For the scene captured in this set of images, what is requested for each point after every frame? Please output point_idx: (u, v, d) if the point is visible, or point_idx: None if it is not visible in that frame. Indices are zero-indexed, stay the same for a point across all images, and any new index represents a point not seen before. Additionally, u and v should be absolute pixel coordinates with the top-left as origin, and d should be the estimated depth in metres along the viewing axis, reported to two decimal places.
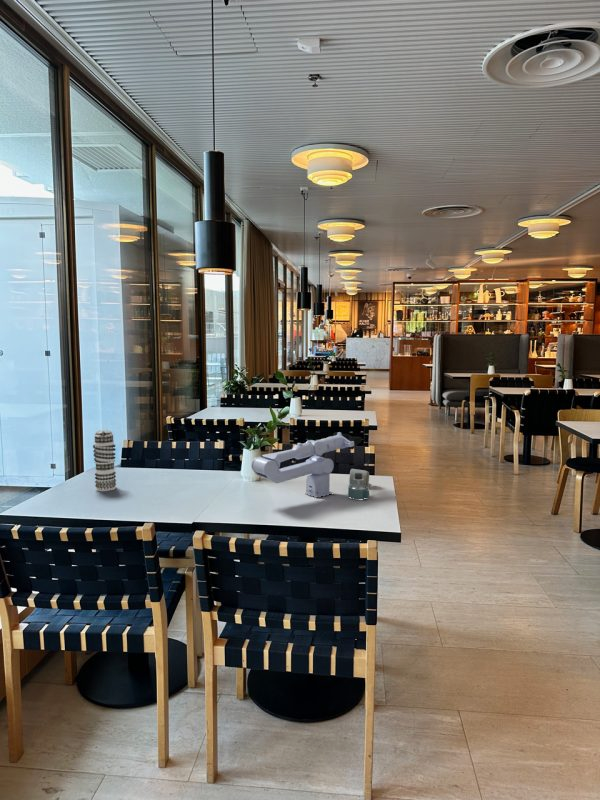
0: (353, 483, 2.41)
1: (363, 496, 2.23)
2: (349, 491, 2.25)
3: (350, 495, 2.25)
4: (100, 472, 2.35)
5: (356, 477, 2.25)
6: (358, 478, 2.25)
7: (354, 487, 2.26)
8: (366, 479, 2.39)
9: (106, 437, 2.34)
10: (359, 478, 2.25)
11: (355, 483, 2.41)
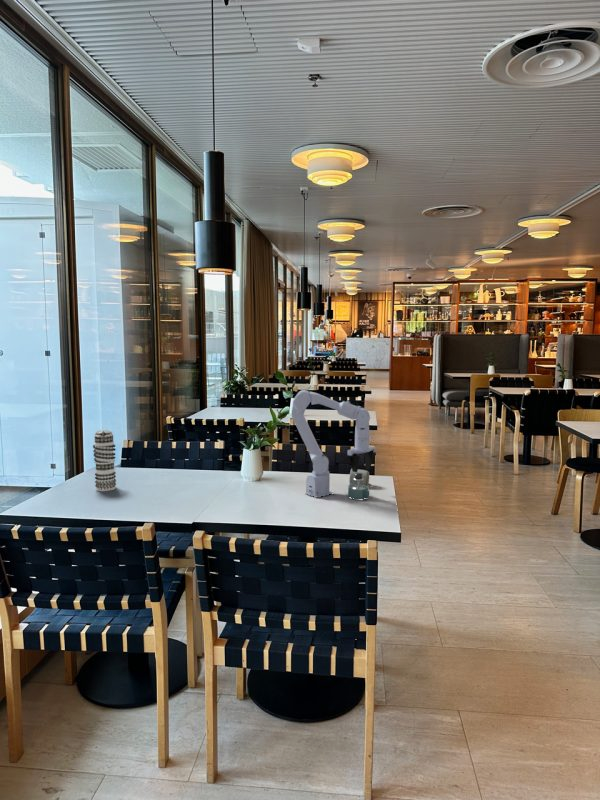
0: (353, 483, 2.41)
1: (363, 496, 2.23)
2: (349, 491, 2.25)
3: (350, 495, 2.25)
4: (100, 472, 2.35)
5: (356, 477, 2.25)
6: (358, 478, 2.25)
7: (354, 487, 2.26)
8: (366, 479, 2.40)
9: (106, 437, 2.34)
10: (359, 478, 2.25)
11: (355, 483, 2.41)
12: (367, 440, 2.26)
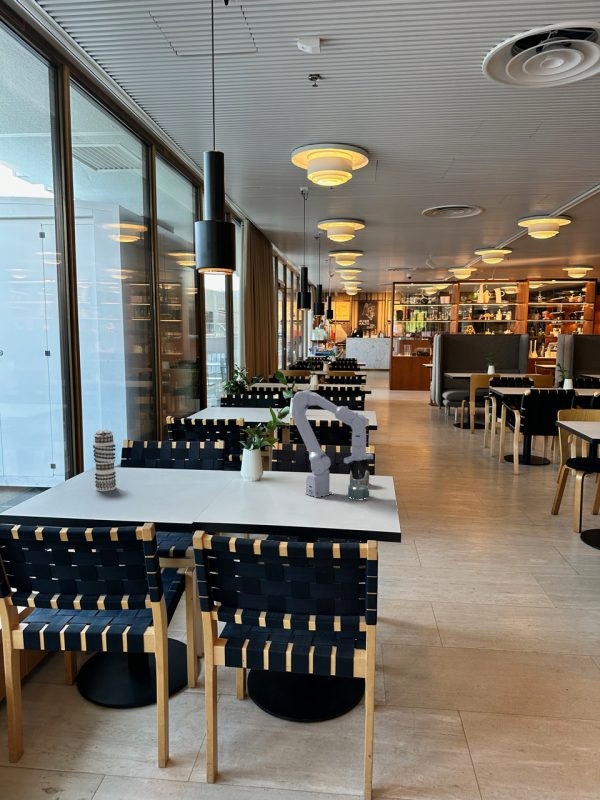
0: (353, 483, 2.42)
1: (363, 496, 2.23)
2: (349, 491, 2.25)
3: (350, 495, 2.25)
4: (100, 472, 2.35)
5: None
6: (358, 478, 2.25)
7: (354, 487, 2.26)
8: (366, 479, 2.40)
9: (106, 437, 2.34)
10: (359, 478, 2.25)
11: (355, 483, 2.41)
12: (364, 448, 2.23)
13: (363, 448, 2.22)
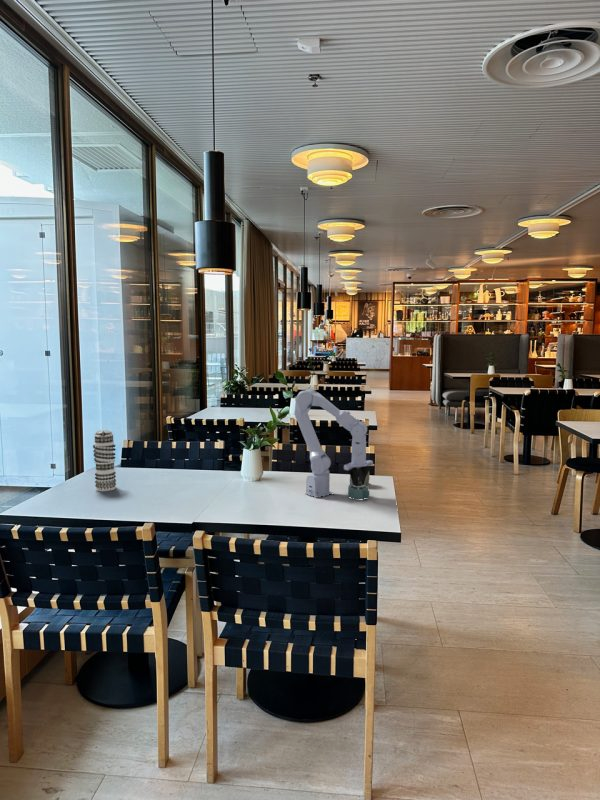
0: None
1: (363, 496, 2.23)
2: (349, 491, 2.25)
3: (350, 495, 2.25)
4: (100, 472, 2.35)
5: None
6: (358, 485, 2.25)
7: None
8: (366, 478, 2.40)
9: (106, 437, 2.34)
10: (359, 485, 2.25)
11: None
12: (364, 454, 2.23)
13: (363, 455, 2.23)
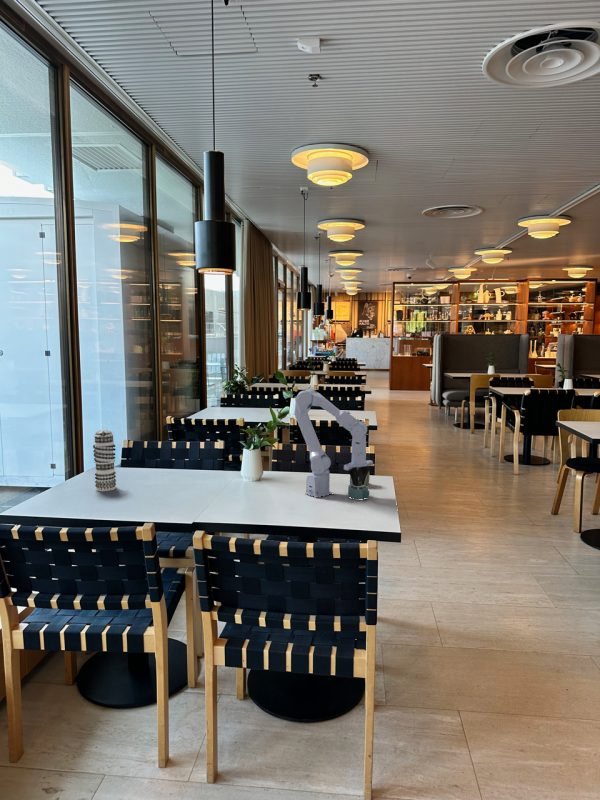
0: None
1: (363, 496, 2.23)
2: (349, 491, 2.25)
3: (350, 495, 2.25)
4: (100, 472, 2.35)
5: None
6: (358, 485, 2.25)
7: None
8: (366, 478, 2.41)
9: (106, 437, 2.34)
10: (359, 485, 2.25)
11: None
12: (364, 454, 2.23)
13: (363, 455, 2.23)
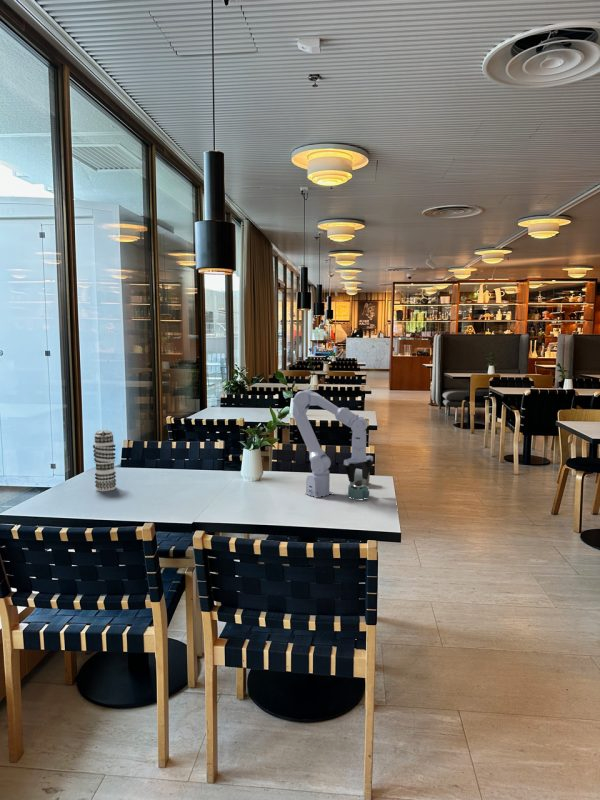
0: (354, 482, 2.42)
1: (363, 496, 2.23)
2: (349, 491, 2.25)
3: (350, 495, 2.25)
4: (100, 472, 2.35)
5: (356, 484, 2.25)
6: (358, 485, 2.25)
7: None
8: None
9: (106, 437, 2.34)
10: (359, 485, 2.25)
11: None
12: (364, 450, 2.23)
13: (363, 450, 2.23)
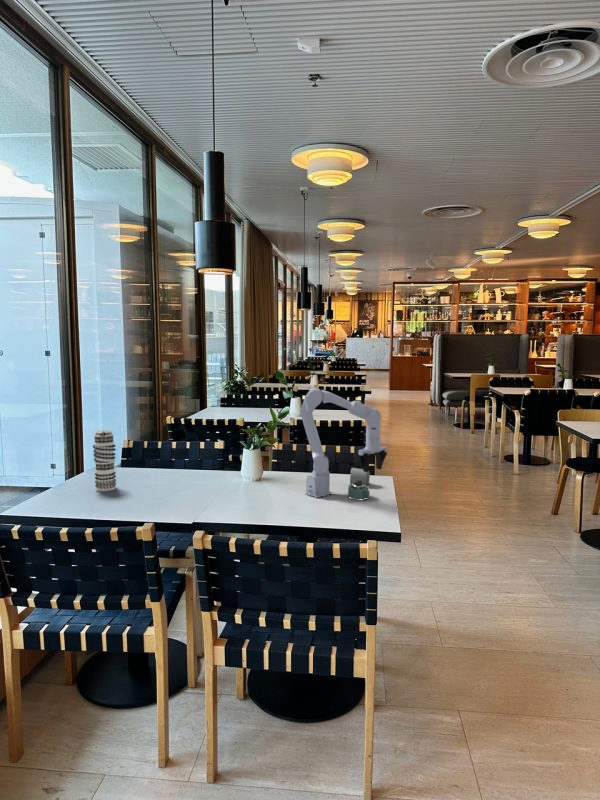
0: (354, 482, 2.43)
1: (363, 496, 2.23)
2: (349, 491, 2.25)
3: (350, 495, 2.25)
4: (100, 472, 2.35)
5: (356, 484, 2.25)
6: (358, 485, 2.25)
7: None
8: (367, 478, 2.41)
9: (106, 437, 2.34)
10: (359, 485, 2.25)
11: None
12: (378, 440, 2.26)
13: (377, 440, 2.26)
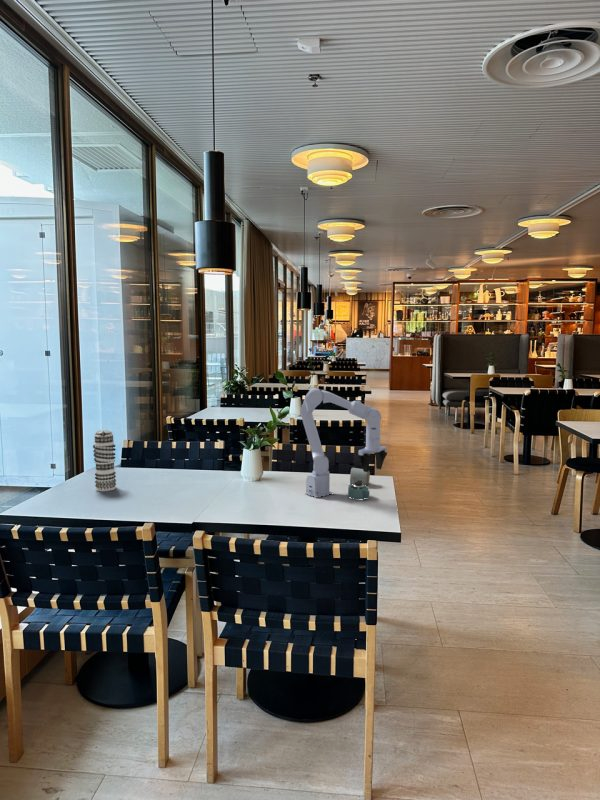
0: (354, 482, 2.43)
1: (363, 496, 2.23)
2: (349, 491, 2.25)
3: (350, 495, 2.25)
4: (100, 472, 2.35)
5: (356, 484, 2.25)
6: (358, 485, 2.25)
7: None
8: (367, 478, 2.41)
9: (106, 437, 2.34)
10: (359, 485, 2.25)
11: None
12: (378, 440, 2.26)
13: (377, 440, 2.26)
